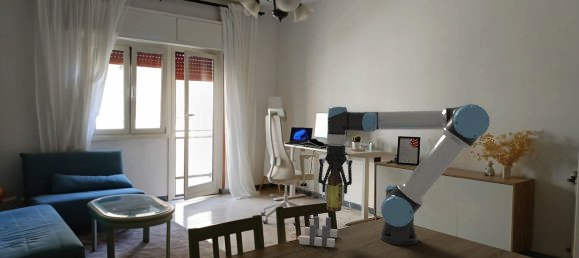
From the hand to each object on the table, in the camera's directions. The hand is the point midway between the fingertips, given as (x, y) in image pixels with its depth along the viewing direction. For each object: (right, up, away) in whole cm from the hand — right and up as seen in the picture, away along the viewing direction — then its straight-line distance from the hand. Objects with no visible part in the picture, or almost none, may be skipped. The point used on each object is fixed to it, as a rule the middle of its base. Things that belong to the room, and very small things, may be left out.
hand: (334, 200), depth 161 cm
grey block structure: (-6, -17, +2) cm, 18 cm away
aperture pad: (-11, -17, +3) cm, 20 cm away
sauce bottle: (0, -4, 0) cm, 4 cm away
